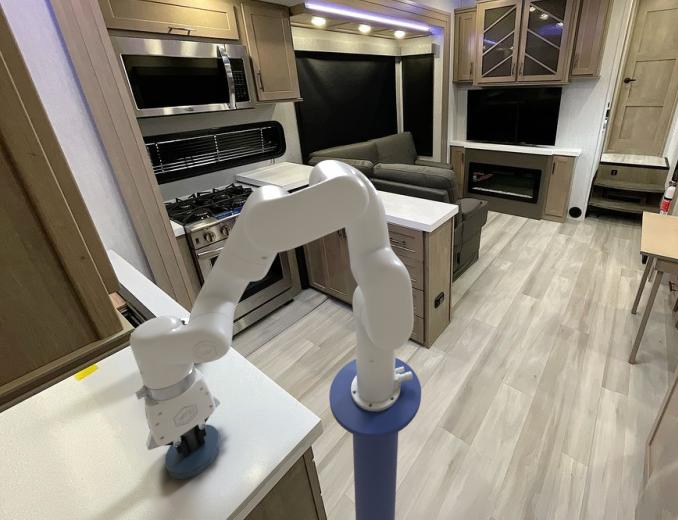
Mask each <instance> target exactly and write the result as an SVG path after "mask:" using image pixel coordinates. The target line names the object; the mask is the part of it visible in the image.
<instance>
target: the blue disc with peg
mask: <svg viewBox="0 0 678 520" xmlns="http://www.w3.org/2000/svg"><path fill="white" fill-rule="evenodd" d="M205 431H206V436H204V440H205V444H203V445H201V444H200V442H199V439H198V436H197V432H196V429H195V427H193V428H192V429H190V430H189V431H187V432H186V433H184V434H183V435H181V436H182V438H183V439H184V441H185V443H186V446H187V449H188V453H189V454H188V456H187V457H185V456H184V454H183V453H180V454H178V452H177V450H176V448H175V446H174V445H169V446H168V447H169V448H168V450H167V451H166V454H165V457H164V458H165V463H164V464H165V466H166V469H167V471H168V473H169V475H170V477H171V478H173V479H178V480H186V479H189V478H192V477H196V476H199V474H201V473H203V472H204V471H205V470H206V469H207V468H208V467H210V466H211V465H212V464H213V462H214V461H215V460H216V458H217V456H218V455H219V454H220V452H221V445H222V438H221V435H220V433H219V430H218V429H217V428H216V427H215V426H214V425H211V424H206V426H205Z"/></svg>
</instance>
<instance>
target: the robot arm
mask: <svg viewBox="0 0 678 520" xmlns="http://www.w3.org/2000/svg"><path fill="white" fill-rule="evenodd" d="M385 210H386V209H385V207H384V203H383V200H382V198H381V196H380V194H379V192H378V190H377V189H376V187H375V186H374V184H373V183H372V182H371V181H370V180H369V178H368V177H367V176H366V175H365V174H364V173H363V172H361V170H359V169H358V168H356V167H354V166H352V165H350V164H348V163H347V162H343V161H340V160H336V159H325V160H323V161H322V160H321V161H320V162H318V163H316V165H314V167H313V168H312V169H311V171H310V174H309V177H308V187H305V188H303V189H301V190H298V191H295V192H292V193H290V192H289V191H287V190H286V189H285V188H283V187H280V186H277V185H271V184H269V185H262V186H260V187H257V188H256V189H254V190H253V191H252V192H251V193H250V195H249V196H248V197H247V199H246V200H245V202H244V204H243V206H242V208H241V210H240V212H239V214H238V216H237V218H236V220H235V223H234V224H233V227H232V228H231V230H230V233H229V235H228V236H227V239H226V241H225V242H224V244H223V247H222V249H221V251H220V252H219V253H218V256H217V259H216V260H215V262H214V264H213V266H212V268H211V269H210V271H209V274H208V275H207V277H206V279H205V281H204V283H203V285H202V287H201V289H200V291H199V293H198V295H197V297H196V299H195V301H194V303H193V306H192V308H191V312H190V314H189V317H188V318H189V321H188V324H187V325H183V324H182V322H181V321H180V320H179V319H180V318H178V317H176V316H173V315H161V316H157V317H154V318H151V319H149V320H145V321H144V322H142V323H141V324H140V325H138V326H137V327H136V328H135V329H134V330H133V331H132V333H131V335H130V337H129V346H130V348H131V351H132V354H133V357H134V360H135V363H136V366H137V368H138V371H139V374H140V376H141V379H142V383H143V385H142V388H140V389H139V390H137V391H136V392H135V396H136V398H137V400H140V399H142V398H144V399H143V400H144V411H145V412H144V413H145V417H146V420H147V425H148V428H149V432H148V437H147V440H146V443H145V446H146V448H147V450H148V451H151V450H154V449H156V448H157V449H158V448H159V447H166V446H171V445H174V446H175V448H176V450H177V452H178V454H180V453H183V454H184V456H185V457H187V456H188V454H189V453H188V449H187V446H186V443H185V441H184V439H183V438H182V436H181V435H183V434H184V433H186V432H187V431H189V430H190V429H192V428H193V427H195V429H196V432H197V436H198V439H199V442H200V444H201V445H203V444H205V440H204V436H206V431H205V426H206V425H207V421H208V420H209V419H210V417H211V416H212V414H214V412H215V411H216V409H217V408H218V407H219V405H220V404H221V402H220V401H219V399H218V398H217V397H215V396H213V394H212V391H211V388H210V386H209V384H208V381H207V380H206V377H205V376H204V374H203V373H202V371H200V369H198V368H196V366H195V364H204V363H212V362H216V361H218V360H220V359H221V358H223V357H225V356H226V355H227V354H228V352H229V351H230V349H231V346H232V342H233V333H234V330H233V329H234V319H235V311H236V309H237V305H238V303H239V302H240V301H241V298H242V296H243V294H244V292H245V290H246V288H247V286H248V285H249V284H250V282H258V281H261V280H263V278H265V277H266V276H267V274H268V272H269V270H270V268H271V266H272V264H273V262H274V261H275V259H276V257H277V255H278V253H282V252H285V251H289V250H293V249H295V248H298V247H301V246H304V245H306V244H308V243H311V242H313V241H315V240H318V239H320V238H323V237H325V236H327V235H329V234H331V233H334V232H337V231H339V230H341V229H344V230H345V235H346V240H347V249H348V256H349V266H350V271H351V274H352V276H353V278H354V280H355V282H356V284H357V285H356V288H354V289H355V290H354V292H353V295H352V312H353V319H354V326H355V327H354V328H355V329H354V330H355V353H356V355H355V357H356V358H355V359H356V364H357V375H356V376H355V378H354V379H353V382H352V384H351V395H352V398H353V400H354V402H355V403H356V404H357V405H358V406H359V407H361V408H362V409H365V410H368V411H382V410H385V409H387V408H389V407H390V406H392V405H393V404H394V403H395V402H396V401H397V399H398V397H399V395H400V384H401V383H402V382H403V381H408V380H411V379H413V376H412V372H411V371H410V372H406V373H404V374H401V375H400V374H399V373H402V372H404V371H405V370H404V367H399V368H396V369H395V358H396V350H398V349H401V348H402V347H403V346H405V344H406V343H407V342H408V340H409V339H410V337H411V335H412V332H413V329H414V325H415V324H414V323H415V322H414V321H415V320H414V319H415V317H414V298H413V297H414V296H413V285H412V280H411V279H412V278H411V276H410V273H409V271H408V269H407V267H406V266H405V264H404V263H403V262H402V260H401V259H400V258H399V257H398V256H397V255H396V253H395V252H394V250H393V249H392V246H391V241H390V233H389V228H388V220H387V215H386V211H385ZM397 373H398V374H397Z"/></svg>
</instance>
